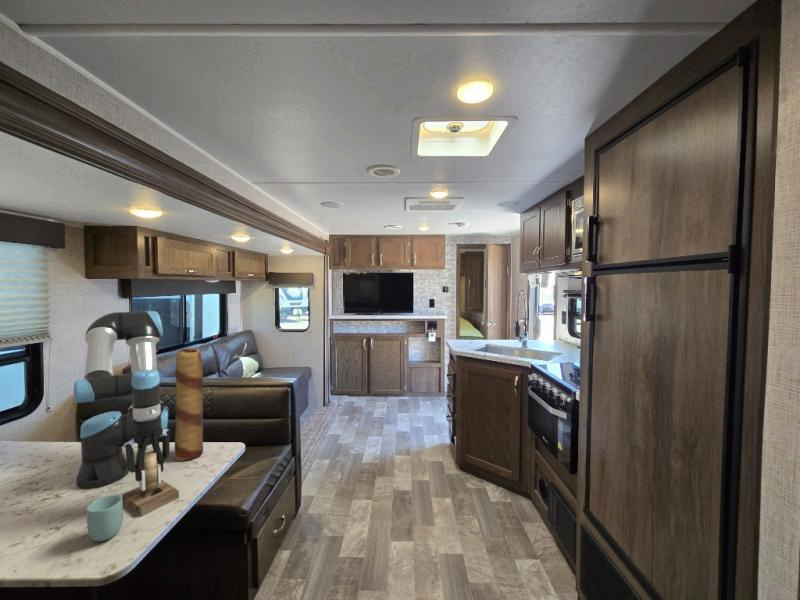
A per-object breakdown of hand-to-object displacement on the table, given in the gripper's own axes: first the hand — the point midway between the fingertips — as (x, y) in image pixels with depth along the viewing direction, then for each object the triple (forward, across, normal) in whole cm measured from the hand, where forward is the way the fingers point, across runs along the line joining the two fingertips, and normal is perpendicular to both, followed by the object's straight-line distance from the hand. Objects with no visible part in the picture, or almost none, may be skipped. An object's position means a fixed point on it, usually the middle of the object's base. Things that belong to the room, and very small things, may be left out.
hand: (150, 485), depth 117 cm
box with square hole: (+5, 0, 0) cm, 5 cm away
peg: (+1, 0, 0) cm, 1 cm away
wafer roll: (+5, +23, +20) cm, 30 cm away
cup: (+5, -15, -8) cm, 17 cm away
